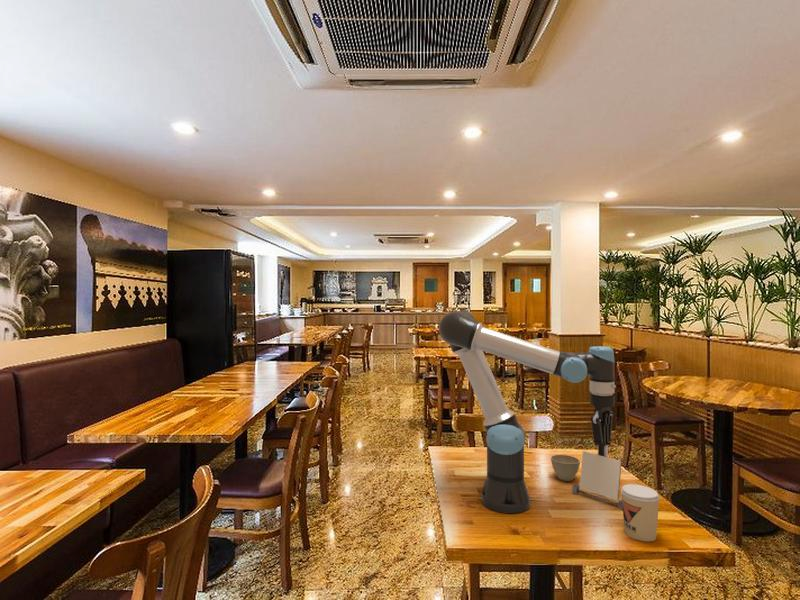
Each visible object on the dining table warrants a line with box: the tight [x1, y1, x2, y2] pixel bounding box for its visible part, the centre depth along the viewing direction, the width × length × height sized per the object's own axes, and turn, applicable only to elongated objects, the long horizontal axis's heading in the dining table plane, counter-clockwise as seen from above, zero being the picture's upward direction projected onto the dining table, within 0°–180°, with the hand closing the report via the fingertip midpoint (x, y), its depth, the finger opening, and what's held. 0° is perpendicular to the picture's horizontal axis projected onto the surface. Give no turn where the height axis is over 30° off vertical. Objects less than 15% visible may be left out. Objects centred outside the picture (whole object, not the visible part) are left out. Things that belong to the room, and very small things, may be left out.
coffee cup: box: [620, 484, 660, 542], centre depth 121 cm, size 9×9×12 cm
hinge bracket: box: [571, 484, 623, 511], centre depth 141 cm, size 2×17×2 cm, turn 41°
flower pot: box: [550, 454, 581, 482], centre depth 159 cm, size 10×10×7 cm
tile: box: [579, 450, 622, 501], centre depth 142 cm, size 12×12×2 cm
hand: (603, 464), depth 144 cm, fingers closed
